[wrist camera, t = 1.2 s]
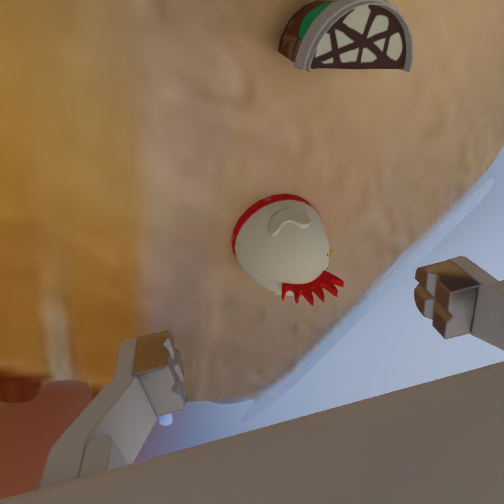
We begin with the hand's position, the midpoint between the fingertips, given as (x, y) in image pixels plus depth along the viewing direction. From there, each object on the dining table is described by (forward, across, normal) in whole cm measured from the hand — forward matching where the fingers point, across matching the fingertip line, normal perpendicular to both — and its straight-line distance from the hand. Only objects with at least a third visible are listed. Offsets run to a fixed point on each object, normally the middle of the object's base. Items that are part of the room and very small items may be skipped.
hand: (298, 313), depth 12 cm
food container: (+38, -14, -7) cm, 41 cm away
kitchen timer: (+42, -6, +20) cm, 46 cm away
